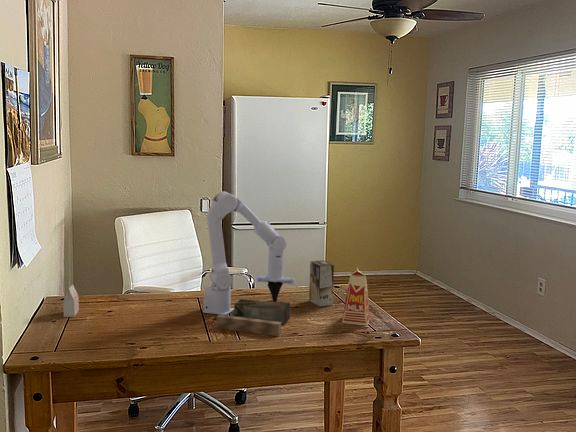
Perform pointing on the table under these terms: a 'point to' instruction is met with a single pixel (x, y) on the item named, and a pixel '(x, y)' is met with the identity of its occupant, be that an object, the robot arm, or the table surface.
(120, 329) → the table surface
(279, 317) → the beverage carton
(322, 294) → the coffee box
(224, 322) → the walnut board
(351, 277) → the milk carton
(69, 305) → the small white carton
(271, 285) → the robot arm
